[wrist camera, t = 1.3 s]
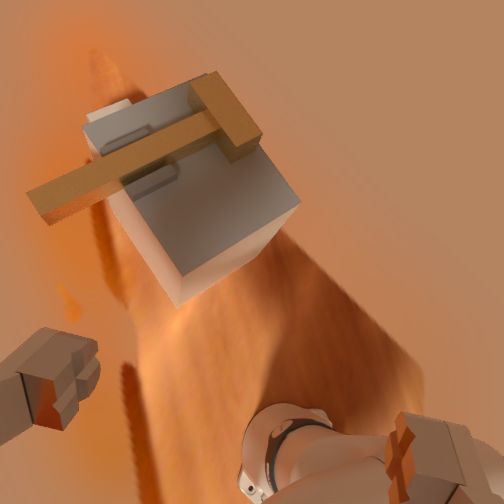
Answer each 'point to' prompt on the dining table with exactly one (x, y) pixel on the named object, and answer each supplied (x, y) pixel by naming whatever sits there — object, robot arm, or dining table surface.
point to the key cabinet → (192, 200)
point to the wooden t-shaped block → (155, 151)
